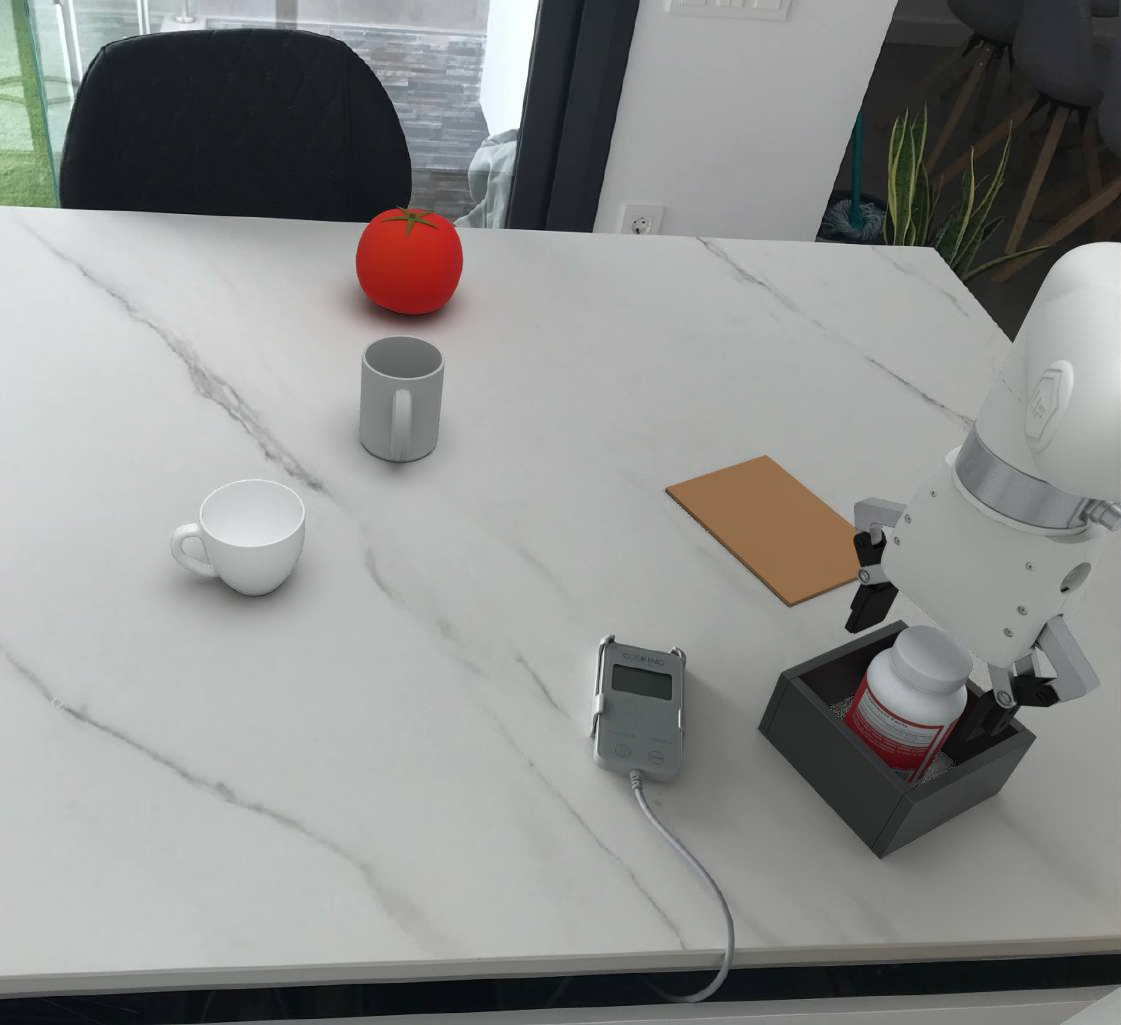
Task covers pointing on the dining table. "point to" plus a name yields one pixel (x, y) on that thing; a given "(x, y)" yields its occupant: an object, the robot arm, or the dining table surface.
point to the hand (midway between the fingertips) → (918, 675)
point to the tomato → (409, 260)
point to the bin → (858, 772)
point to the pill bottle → (911, 699)
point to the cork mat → (773, 527)
